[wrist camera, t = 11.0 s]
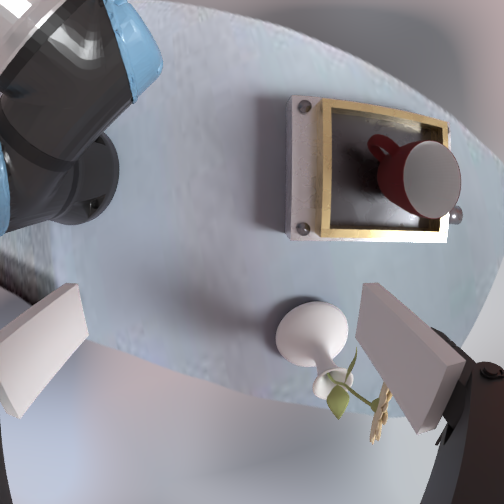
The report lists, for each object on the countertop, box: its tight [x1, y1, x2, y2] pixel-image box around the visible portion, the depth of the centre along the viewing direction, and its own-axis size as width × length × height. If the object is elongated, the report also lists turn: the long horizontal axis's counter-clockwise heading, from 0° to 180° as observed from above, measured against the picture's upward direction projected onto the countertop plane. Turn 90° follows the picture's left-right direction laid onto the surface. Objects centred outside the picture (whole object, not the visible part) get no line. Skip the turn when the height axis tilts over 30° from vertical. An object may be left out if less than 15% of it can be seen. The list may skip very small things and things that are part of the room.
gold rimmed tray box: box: [285, 95, 463, 243], centre depth 35 cm, size 28×18×8 cm, turn 90°
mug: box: [367, 134, 461, 219], centre depth 29 cm, size 10×8×10 cm
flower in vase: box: [276, 302, 393, 444], centre depth 32 cm, size 13×11×25 cm
